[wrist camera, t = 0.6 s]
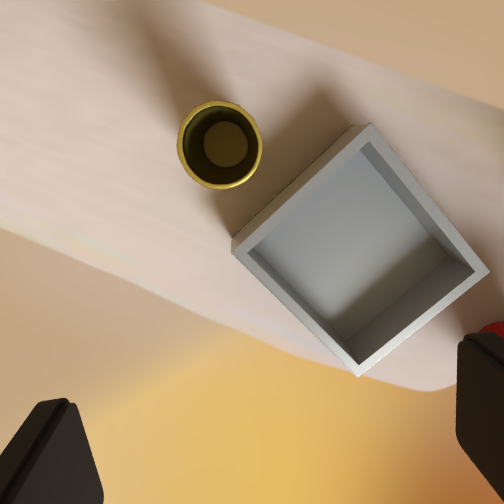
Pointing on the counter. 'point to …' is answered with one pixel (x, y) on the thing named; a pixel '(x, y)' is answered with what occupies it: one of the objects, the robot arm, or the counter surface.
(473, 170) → the counter surface
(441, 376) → the counter surface
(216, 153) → the vase
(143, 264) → the counter surface
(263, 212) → the box
